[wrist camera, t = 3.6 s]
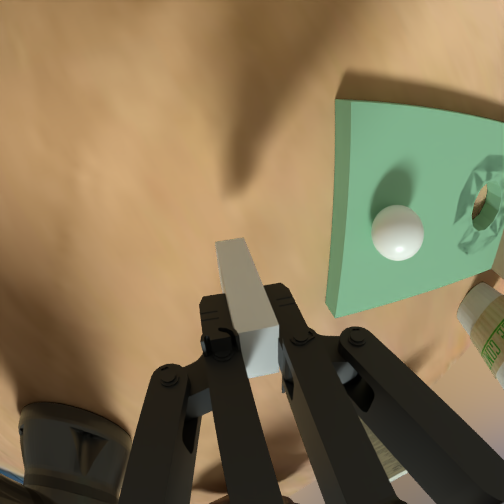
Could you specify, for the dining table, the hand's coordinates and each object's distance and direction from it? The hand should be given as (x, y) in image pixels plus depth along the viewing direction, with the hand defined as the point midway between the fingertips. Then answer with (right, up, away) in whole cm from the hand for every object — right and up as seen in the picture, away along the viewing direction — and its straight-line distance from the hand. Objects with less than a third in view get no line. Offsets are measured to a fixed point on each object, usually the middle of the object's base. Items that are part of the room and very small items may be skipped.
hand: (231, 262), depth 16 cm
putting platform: (+17, +5, +6) cm, 19 cm away
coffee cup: (+30, -6, +16) cm, 35 cm away
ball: (+10, +2, +2) cm, 11 cm away
